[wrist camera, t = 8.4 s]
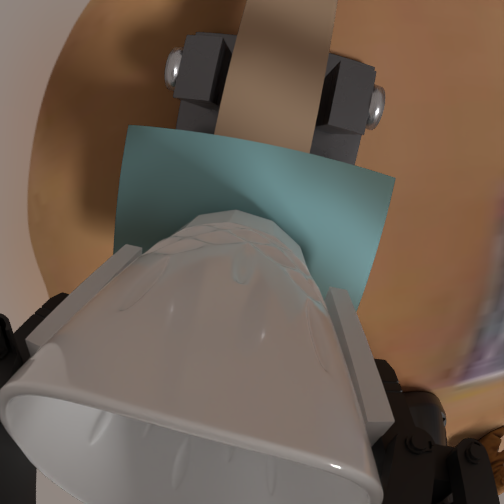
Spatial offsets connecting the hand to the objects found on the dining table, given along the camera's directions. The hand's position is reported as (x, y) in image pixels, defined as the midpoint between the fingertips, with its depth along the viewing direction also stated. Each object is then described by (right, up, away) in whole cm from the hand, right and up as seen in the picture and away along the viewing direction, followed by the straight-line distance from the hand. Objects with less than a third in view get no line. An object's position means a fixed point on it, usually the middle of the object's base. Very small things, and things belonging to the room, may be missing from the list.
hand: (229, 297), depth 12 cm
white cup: (0, 0, +1) cm, 1 cm away
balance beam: (+2, +11, 0) cm, 11 cm away
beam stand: (+2, +12, +6) cm, 14 cm away
